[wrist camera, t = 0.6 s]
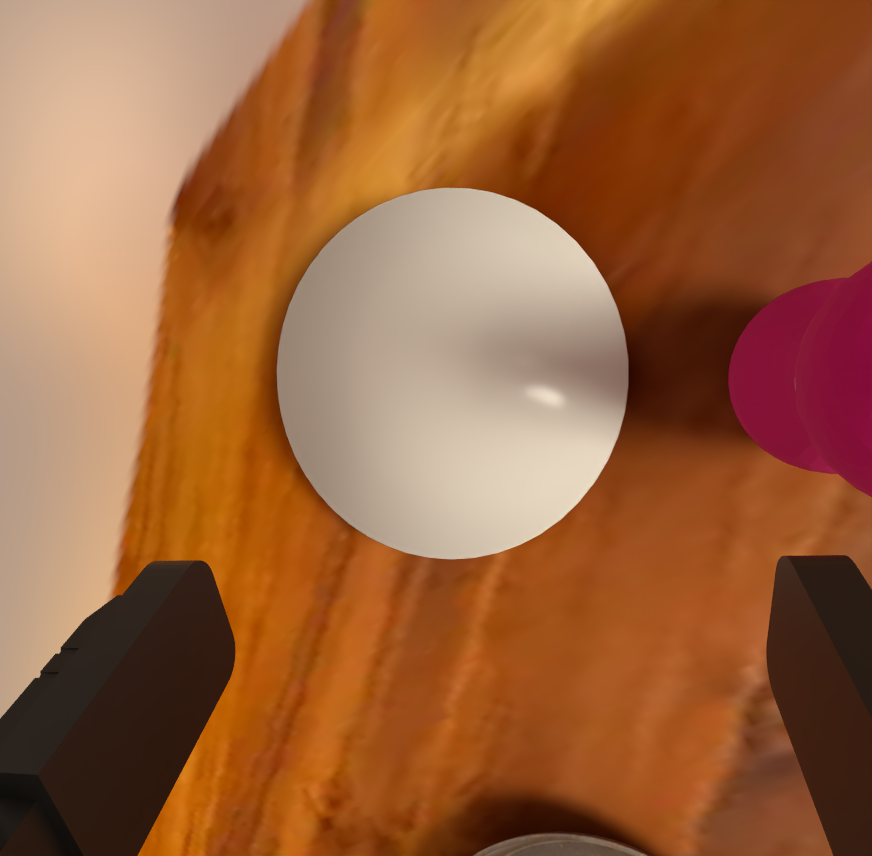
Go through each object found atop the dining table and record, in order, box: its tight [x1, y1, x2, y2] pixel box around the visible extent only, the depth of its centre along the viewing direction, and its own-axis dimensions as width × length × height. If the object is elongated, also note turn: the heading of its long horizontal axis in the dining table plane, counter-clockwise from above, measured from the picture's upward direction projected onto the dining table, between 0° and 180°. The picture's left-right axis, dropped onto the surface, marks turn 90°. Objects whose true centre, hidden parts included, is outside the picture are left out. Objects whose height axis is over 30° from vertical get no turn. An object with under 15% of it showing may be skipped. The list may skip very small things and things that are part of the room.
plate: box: [277, 188, 629, 559], centre depth 34 cm, size 18×18×2 cm
